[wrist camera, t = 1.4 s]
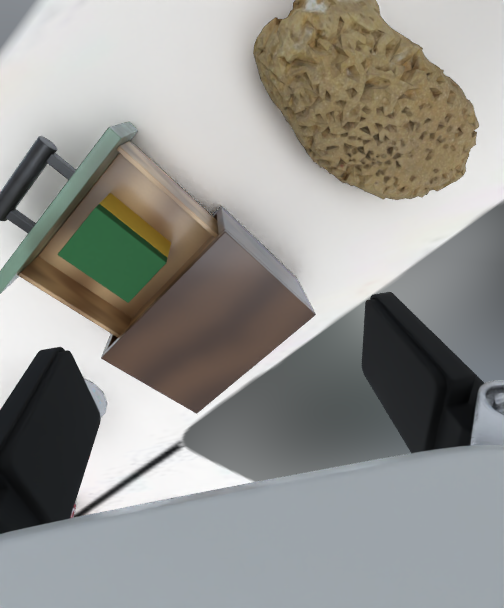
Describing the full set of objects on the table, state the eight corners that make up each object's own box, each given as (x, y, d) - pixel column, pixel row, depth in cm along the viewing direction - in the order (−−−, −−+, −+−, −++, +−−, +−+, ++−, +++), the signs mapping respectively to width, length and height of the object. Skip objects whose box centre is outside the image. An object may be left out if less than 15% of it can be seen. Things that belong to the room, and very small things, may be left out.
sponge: (234, 76, 31) (363, 246, 36) (243, 31, 23) (404, 255, 28) (349, -33, 30) (464, 158, 35) (397, -118, 22) (535, 143, 27)
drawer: (-10, 230, 33) (-59, 260, 27) (92, 86, 29) (61, 83, 22) (129, 321, 40) (115, 361, 34) (230, 217, 35) (235, 242, 29)
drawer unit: (118, 314, 40) (100, 358, 33) (221, 205, 35) (225, 231, 28) (198, 366, 45) (196, 414, 38) (297, 278, 40) (316, 314, 33)
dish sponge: (110, 192, 32) (95, 206, 27) (171, 242, 35) (166, 262, 30) (76, 234, 33) (56, 254, 29) (137, 279, 36) (128, 303, 32)
